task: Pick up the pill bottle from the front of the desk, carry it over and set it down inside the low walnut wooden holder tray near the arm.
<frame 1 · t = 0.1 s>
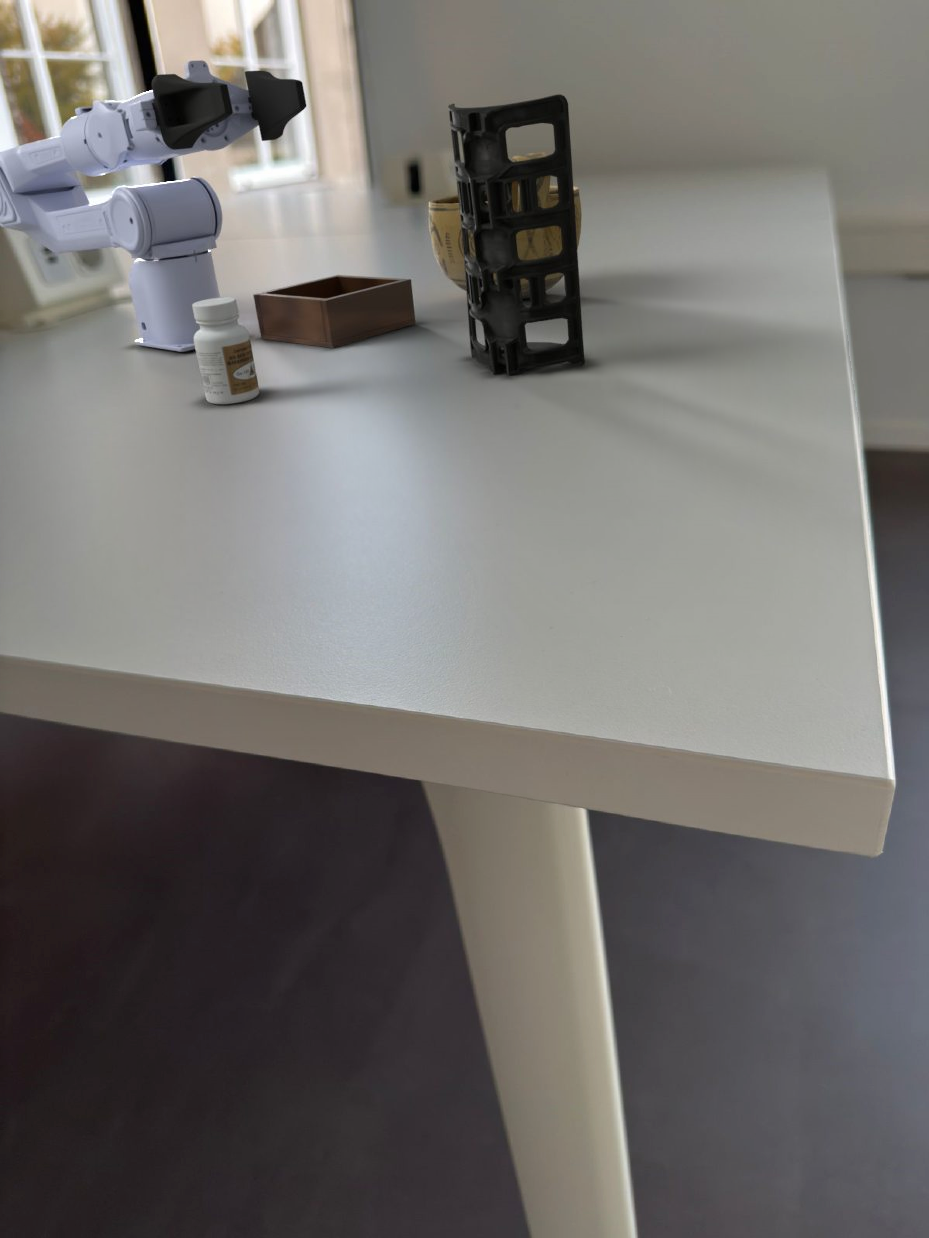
hand: (265, 96, 78), 22 cm above the table, tool horizontal, fingers open, 7 cm apart
holder: (520, 368, 79), on the table
pill bottle: (234, 400, 78), on the table
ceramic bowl: (509, 298, 108), on the table
wooden holder: (338, 331, 99), on the table
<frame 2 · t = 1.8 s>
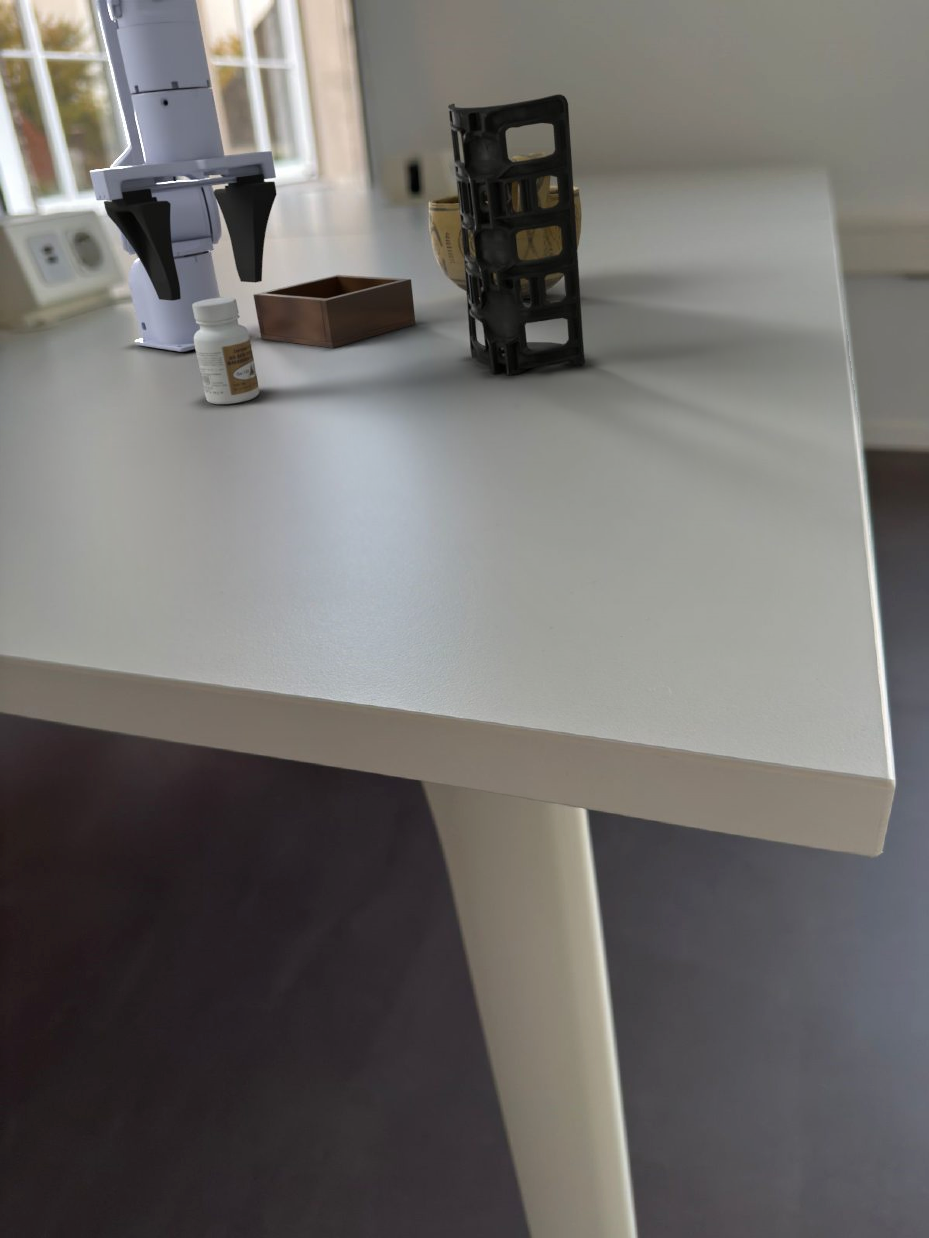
hand: (211, 290, 74), 9 cm above the table, tool pointing down, fingers open, 7 cm apart
nothing on the table moved.
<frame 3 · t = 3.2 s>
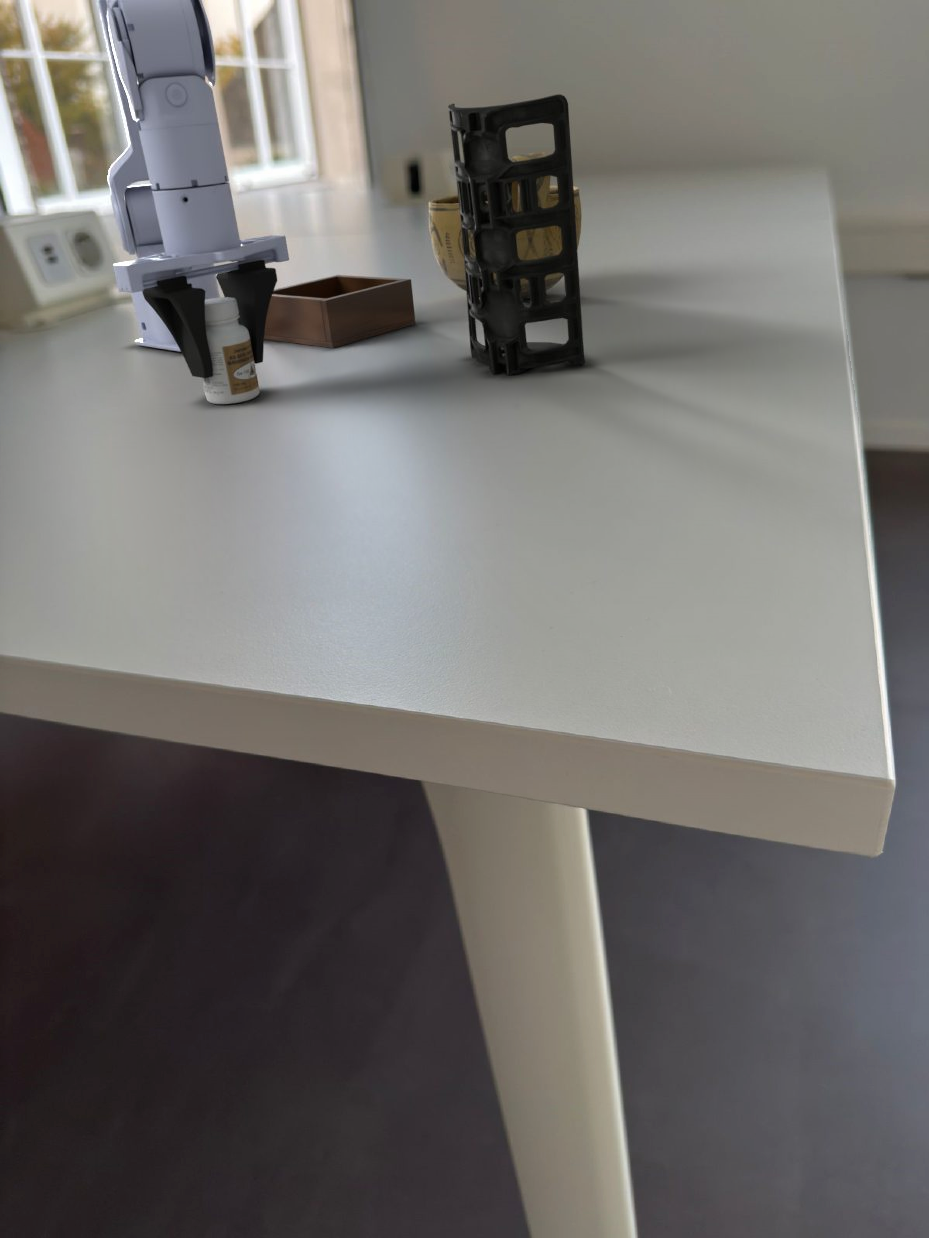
hand: (227, 369, 77), 2 cm above the table, tool pointing down, fingers closed on pill bottle, 4 cm apart
pill bottle: (234, 400, 78), on the table, touching gripper
everything else where it was.
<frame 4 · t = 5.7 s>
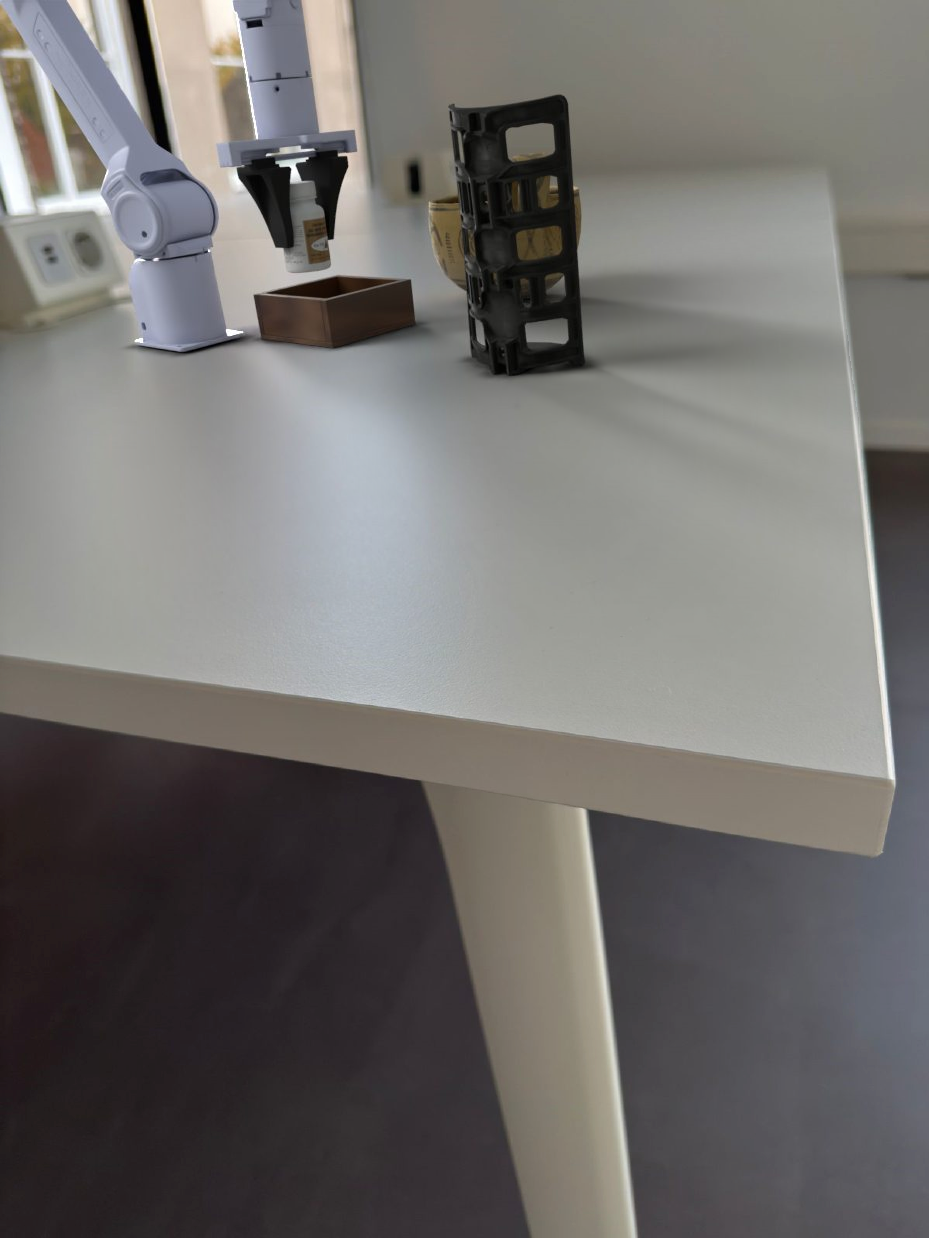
hand: (304, 243, 90), 9 cm above the table, tool pointing down, fingers closed on pill bottle, 4 cm apart
pill bottle: (309, 272, 91), point 7 cm above the table, touching gripper
everything else where it was.
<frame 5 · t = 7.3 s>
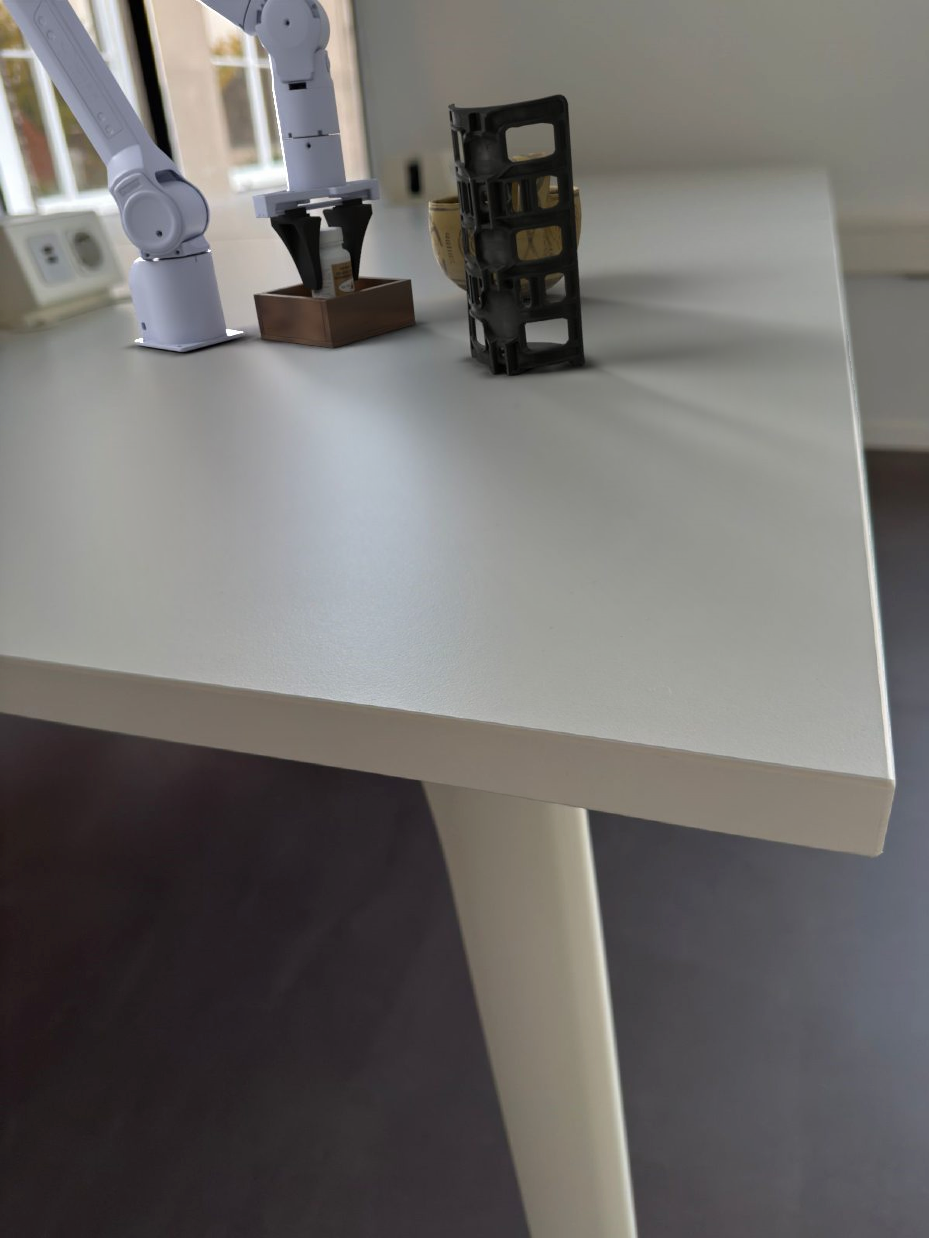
hand: (331, 284, 97), 5 cm above the table, tool pointing down, fingers closed on pill bottle, 4 cm apart
pill bottle: (336, 310, 98), point 2 cm above the table, touching gripper
everything else where it was.
when the fingers open (3 cm above the table, at t = 8.3 s): pill bottle stays where it is, resting on wooden holder.
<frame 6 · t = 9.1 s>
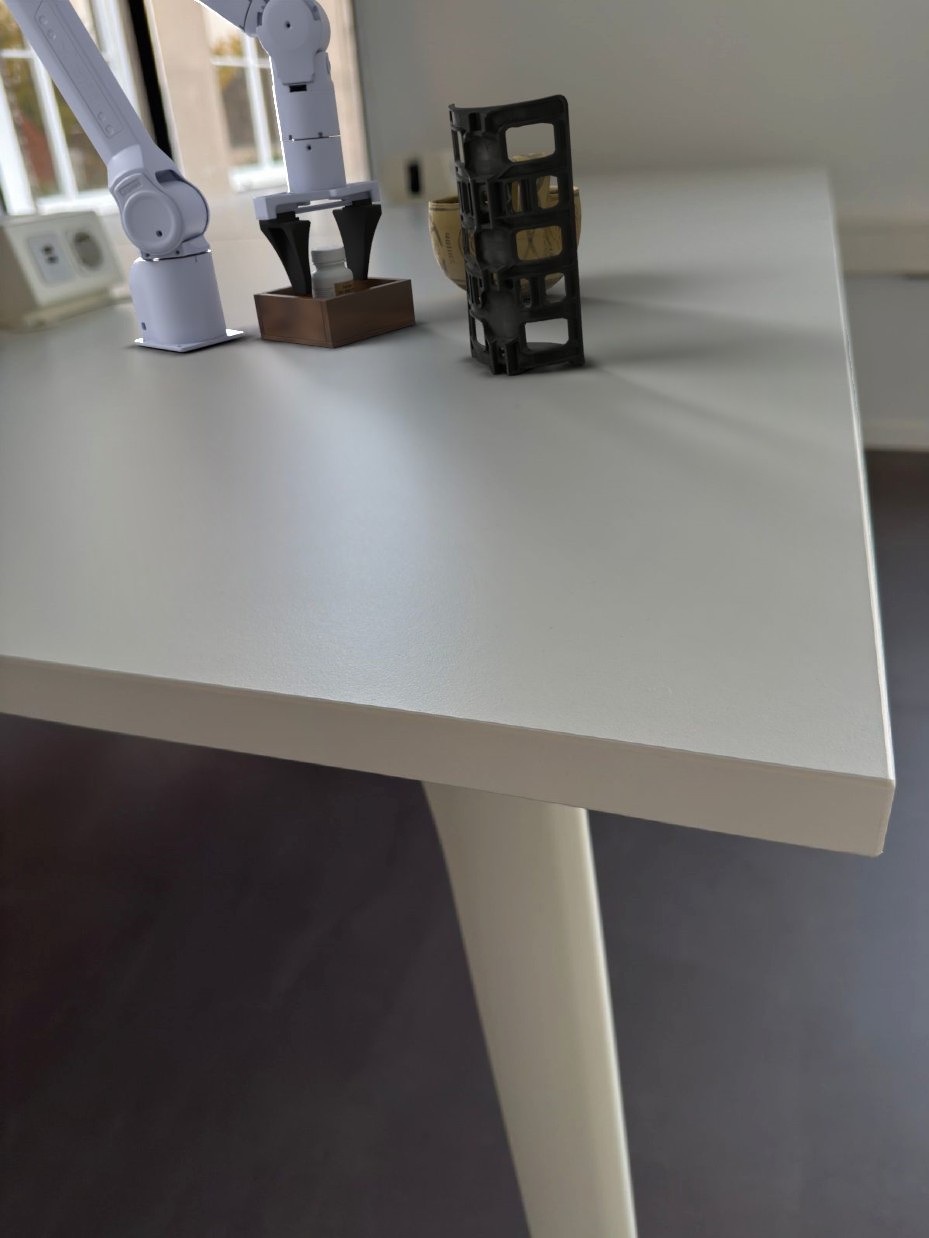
hand: (331, 286, 97), 5 cm above the table, tool pointing down, fingers open, 7 cm apart
pill bottle: (338, 328, 99), resting on wooden holder
everything else where it was.
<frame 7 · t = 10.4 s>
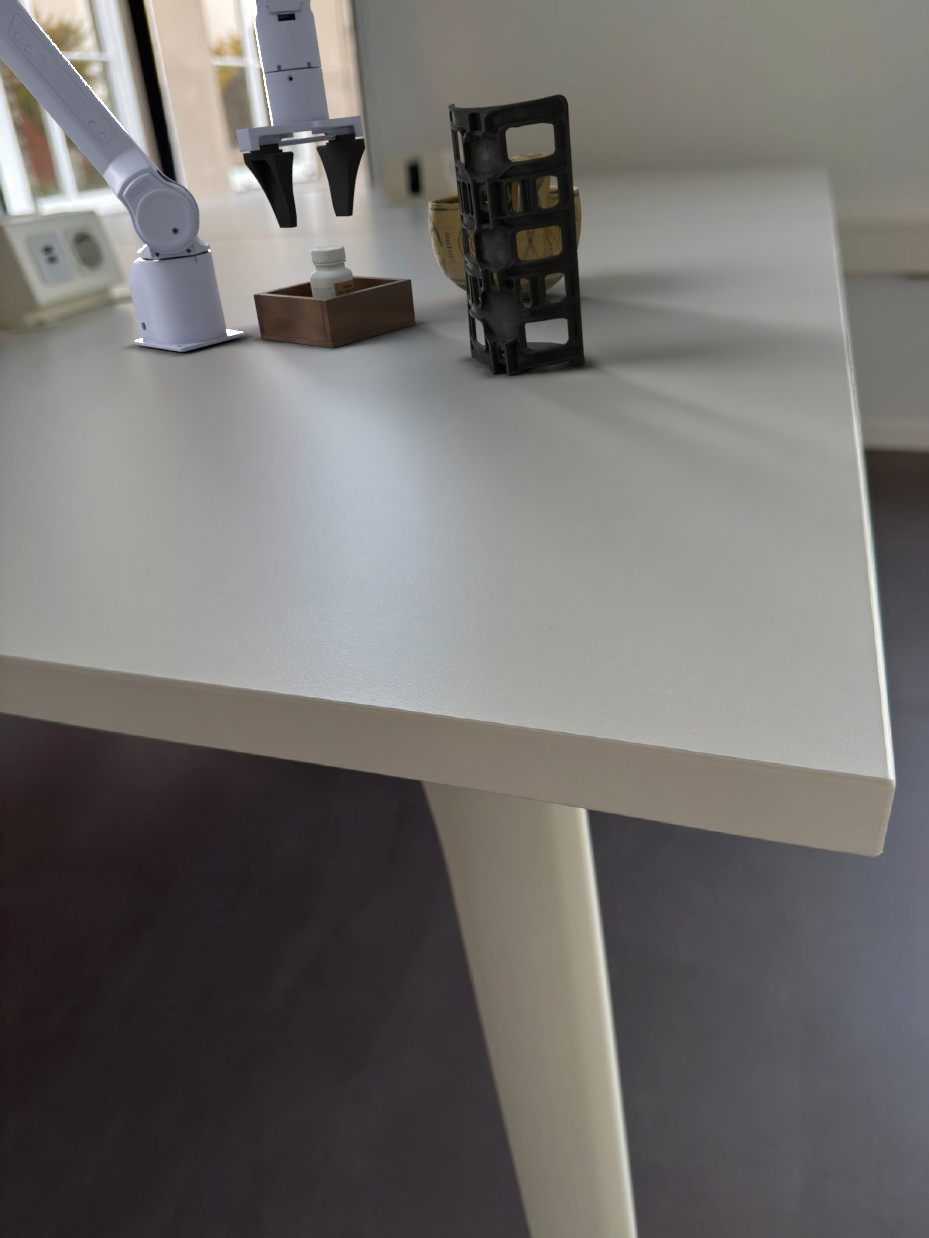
hand: (317, 221, 98), 10 cm above the table, tool pointing down, fingers open, 7 cm apart
nothing on the table moved.
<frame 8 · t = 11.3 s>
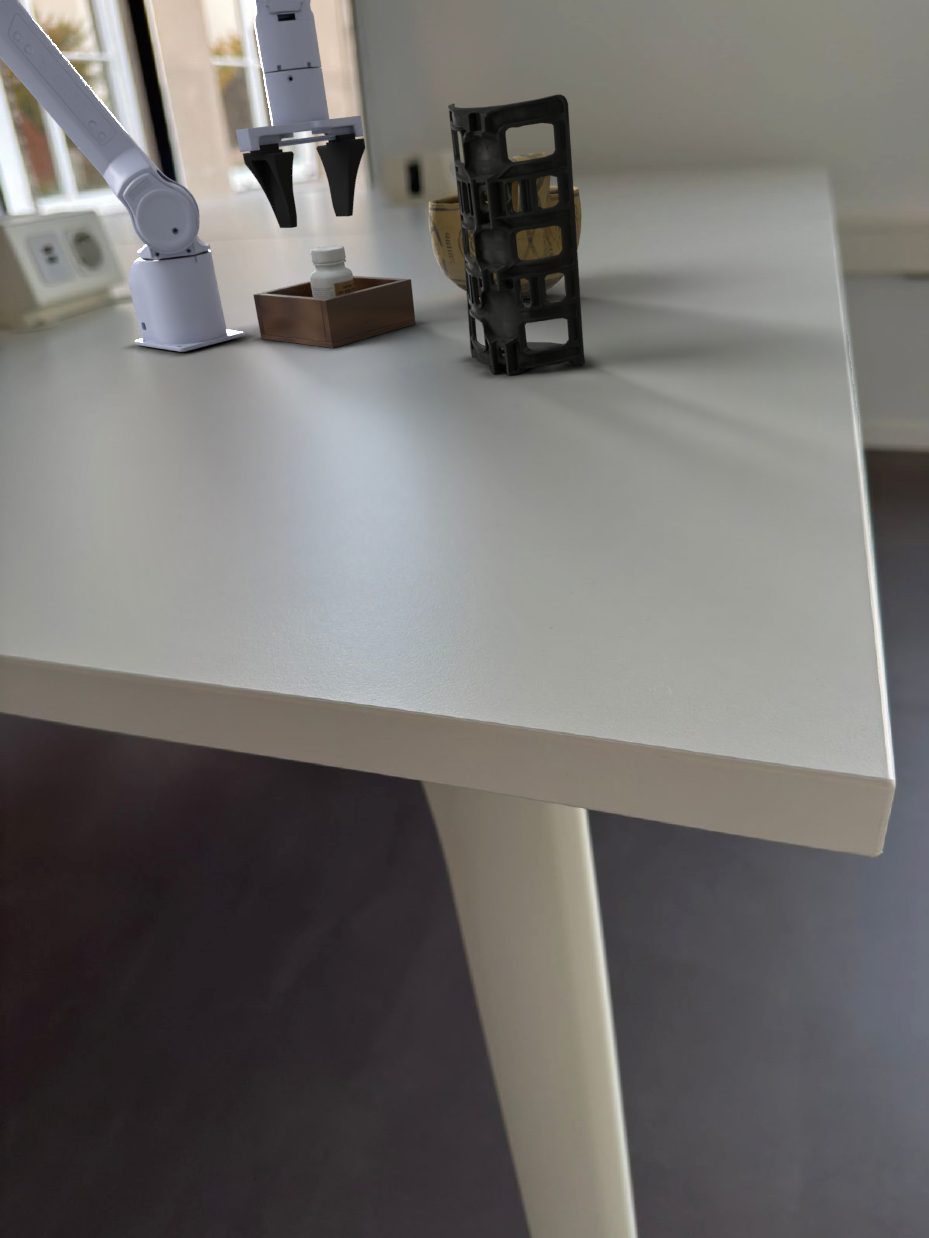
hand: (317, 221, 98), 10 cm above the table, tool pointing down, fingers open, 7 cm apart
nothing on the table moved.
at the end: pill bottle inside the target area in the wooden holder (0.1 cm from its centre), point 0.3 cm above the wooden holder's base; the gripper is holding nothing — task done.
